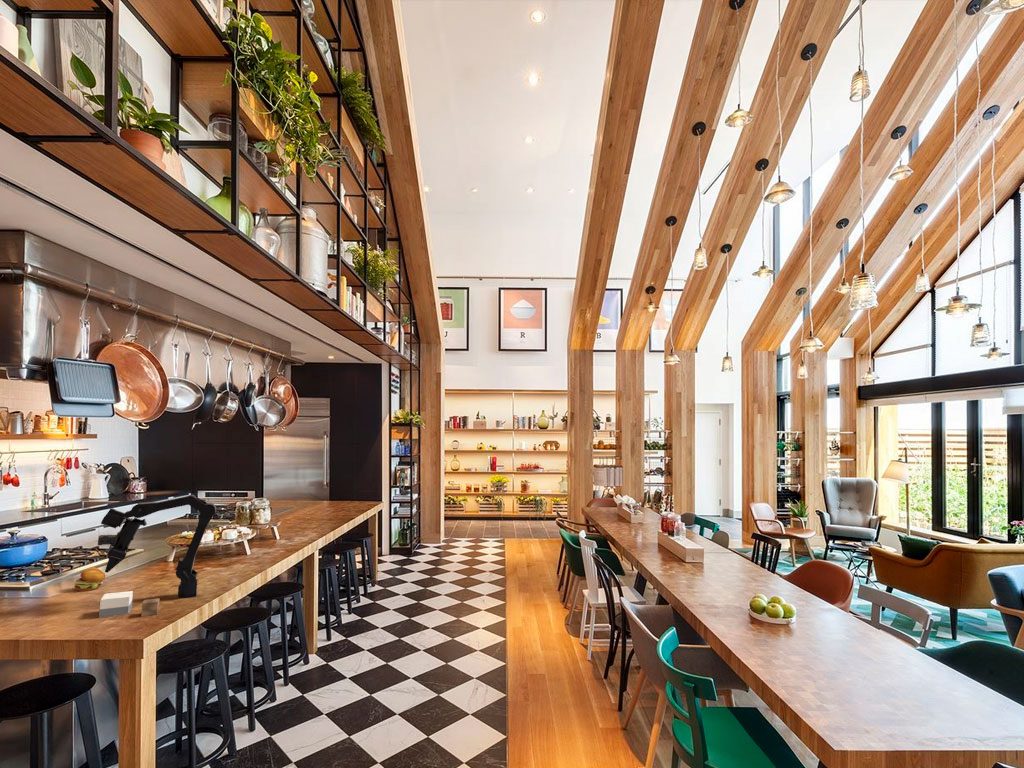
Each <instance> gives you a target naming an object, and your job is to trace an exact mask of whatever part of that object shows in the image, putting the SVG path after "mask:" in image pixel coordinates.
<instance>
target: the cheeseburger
mask: <svg viewBox="0 0 1024 768" xmlns="http://www.w3.org/2000/svg"><path fill="white" fill-rule="evenodd" d="M105 579H106V572H104V571H102V570H101V569H100V568H98V567H89V568H86V569H85V570H83V571H81V572H80V577H79V578H78V579H77V580H74V583H73V585H74V589H75V590H76V591H79V592H87V591H93V590H97V589H99V588H100V587H101V585H103V581H105Z"/></svg>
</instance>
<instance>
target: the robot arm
mask: <svg viewBox="0 0 1024 768" xmlns="http://www.w3.org/2000/svg"><path fill="white" fill-rule="evenodd" d="M185 506H190V507H192V508H193V509H195V510H196V511H198V512H199V517H198V521H197V526H196V528H195V531H194V534H193V536H192V539H191V542H190V543H189V546H188V548H187V551H186V554H185V556H184V557H179V560H178V561H177V566H176V567H175V568H174V571H175V576H176V578H177V579H179V580H180V583H179V584H178V586H177V588H178V589H177V596H178V599H181V598H192V597H197V596H198V583H199V582H198V575H199V573H198V572H197V571H196V570H195V569H194V566H195V565H194V564H195V560H196V555H197V553H198V549H199V547H200V544H201V542H202V539H203V537H204V535H205V532H206V529H207V526H208V525H209V523H210V522H211V520H212V518H213V517H214V515H215V513H216V512H217V506H216V504H214V503H213V502H207V501H205V500H203V499H201V498H198V497H197V496H196V495H194V494H189V495H187V496H181V497H176V498H172V499H167V500H162V501H152V502H151V501H147V502H145V501H144V502H139V503H137V504H135V505H133V507H132V508H131V509H130V510H127V511H126V512H123V511H120V510H116V509H115V508H110V509H109V510H108V511H107V513H106V514H105V516H104V517H103V518H102V520H101V523H100V525H104V526H106V527H110V528H112V529H117V528H121V529H120V530H119V531H118V532H117V533H116V534H100V535H99V536H98V540H97V546H106V545H107V546H108V545H109V548H108V551H107V553H106V557H107V558H108V561H107V564H106V567H105V570H104V573H105V574H107V573H109V572H110V571H111V570H113V569H114V568H115V567H116V566H117V565H119V564H120V563H121V562H122V561H123V560H125V559H126V557H127V555H128V554H127V553H128V552H127V551H128V550H129V546H130V545H131V542H132V541H134V539H135V536H136V535H137V532H138V530H140V529H139V528H140V527H141V526H142V527H143V526H144V527H146V526H147V525H148V523H147V521H146V518H145V517H147V516H150V515H151V514H154V513H157V512H160V511H161V512H162V511H165V510H170V509H175V508H179V507H185ZM142 518H143V519H142Z"/></svg>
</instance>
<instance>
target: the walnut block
mask: <svg viewBox="0 0 1024 768" xmlns="http://www.w3.org/2000/svg"><path fill="white" fill-rule="evenodd" d="M159 611H160V598H159V597H158V598H151V599H150V598H149V599H144V600H143V601H142V603H141V618H143V617H142V616H145V617H153V615H154V616H157V615H158V614H159Z"/></svg>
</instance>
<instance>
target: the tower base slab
mask: <svg viewBox="0 0 1024 768" xmlns="http://www.w3.org/2000/svg"><path fill="white" fill-rule="evenodd" d="M132 608H133V600H132V601H131V603H130V605H129V606H126V607H117V608H108V609H100V608H99V610H98V611H99V613H98V618H99V619H100V617H102V618H108V617H107V616H111V617H115V616H114V615H120V616H124V615H123V614H128V613H129V614H130V612H131V610H132ZM129 614H128V615H129Z"/></svg>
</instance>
